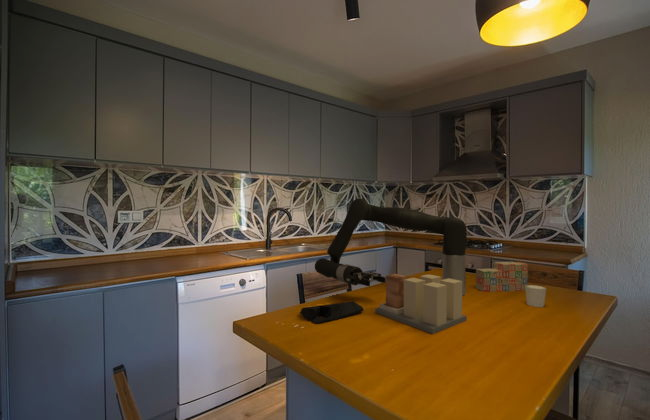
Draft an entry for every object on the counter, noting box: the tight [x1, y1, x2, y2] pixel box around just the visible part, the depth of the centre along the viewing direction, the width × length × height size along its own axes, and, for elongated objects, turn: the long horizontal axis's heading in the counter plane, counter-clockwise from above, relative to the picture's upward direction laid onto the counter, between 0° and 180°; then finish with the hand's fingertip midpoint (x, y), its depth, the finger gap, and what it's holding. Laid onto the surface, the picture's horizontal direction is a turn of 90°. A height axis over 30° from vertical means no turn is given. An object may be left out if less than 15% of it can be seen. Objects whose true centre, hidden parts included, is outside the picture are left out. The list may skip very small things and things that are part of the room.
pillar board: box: [374, 274, 467, 335], centre depth 112 cm, size 19×24×14 cm
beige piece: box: [525, 284, 547, 308], centre depth 125 cm, size 7×7×7 cm
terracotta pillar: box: [385, 273, 407, 309], centre depth 115 cm, size 5×5×12 cm
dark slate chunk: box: [299, 300, 364, 325], centre depth 116 cm, size 15×22×5 cm
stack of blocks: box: [475, 261, 529, 293], centre depth 148 cm, size 21×6×12 cm, turn 95°
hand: (377, 281), depth 123 cm, fingers open, 8 cm apart
